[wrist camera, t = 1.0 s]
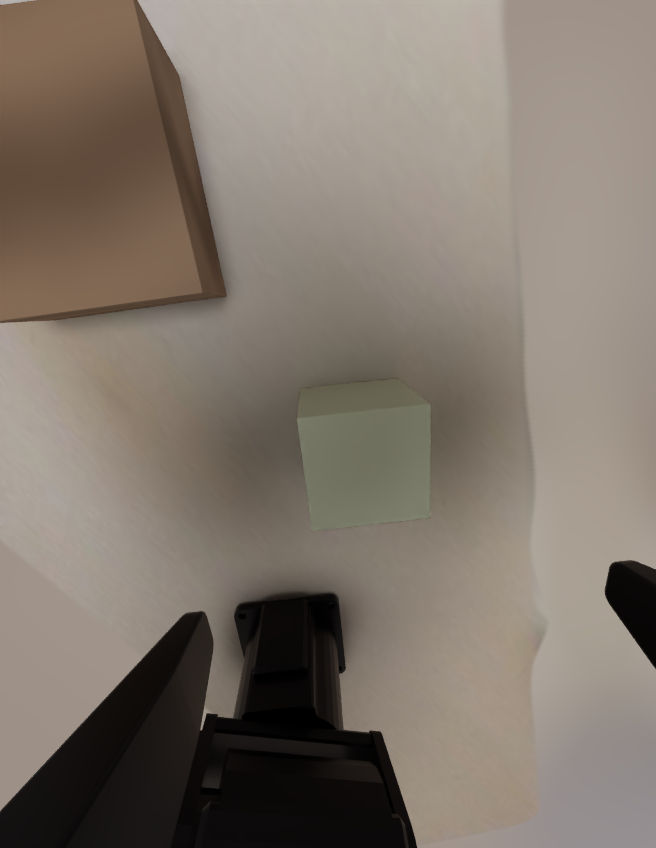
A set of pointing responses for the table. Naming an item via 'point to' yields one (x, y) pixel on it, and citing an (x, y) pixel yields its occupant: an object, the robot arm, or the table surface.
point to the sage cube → (365, 453)
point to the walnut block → (96, 167)
